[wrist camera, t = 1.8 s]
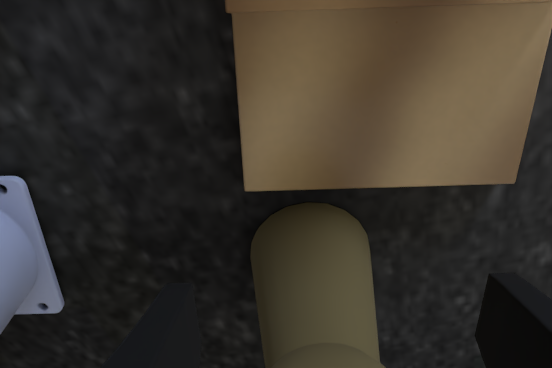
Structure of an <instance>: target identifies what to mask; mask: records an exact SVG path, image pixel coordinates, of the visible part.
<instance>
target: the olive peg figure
mask: <svg viewBox="0 0 552 368" xmlns="http://www.w3.org/2000/svg"><path fill="white" fill-rule="evenodd" d="M250 259H251V266H252V273H253V281H254V288H255V295H256V302H257V310H258V317H259V324H260V331H261V339H262V346H263V353H264V361H265V368H386V367H385V366H384V365H382V364H381V363H380V359H379V347H378V336H377V324H376V313H375V302H374V290H373V279H372V267H371V256H370V247H369V242H368V236H367V233H366V232H365V230H364V229H363V227H362V226H361V224H360V222H359V221H358V220H357V219H356V218H354V217H353V216H352V215H350V214H349V213H348V212H346V211H345V210H343V209H340V208H337V207H335V206H332V205H329V204H325V203H309V202H306V203H301V204H297V205H292V206H287V207H285V208H284V209H282V210H280V211H278V212H276V213H274V214H272V215H270V216H269V217H268V219H267V220H266V221H265V222H264V223H263V224H262V225H261V226H260V227H259V228H258V229H257V232H256V234H255V236H254V238H253V240H252V242H251V256H250Z"/></svg>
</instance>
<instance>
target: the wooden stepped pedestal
mask: <svg viewBox="0 0 552 368" xmlns="http://www.w3.org/2000/svg"><path fill="white" fill-rule="evenodd" d="M225 10H226V13H231V15H232V29H233V42H234V56H235V70H236V84H237V98H238V111H239V125H240V139H241V153H242V166H243V180H244V190H245V191H280V190H314V189H348V188H382V187H416V186H450V185H484V184H514V183H515V181H516V176H517V172H518V168H519V164H520V160H521V155H522V151H523V147H524V143H525V138H526V134H527V130H528V126H529V122H530V117H531V113H532V109H533V105H534V101H535V96H536V92H537V88H538V84H539V79H540V75H541V71H542V67H543V63H544V58H545V54H546V50H547V46H548V42H549V37H550V33H551V29H552V0H225Z"/></svg>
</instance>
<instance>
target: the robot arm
mask: <svg viewBox="0 0 552 368" xmlns="http://www.w3.org/2000/svg"><path fill="white" fill-rule="evenodd" d="M0 184H1V185H4V186H5V187H6V188H7V190H4V189H2V188H1V186H0V334H1V333H2V331H3V330H4V328H5V327H6V326H7V324H8V323H9V321H10V320H11V318H12V317H13V315H14V314H45V313H59V312H60V311H61V310H62V308H63V306H64V299H63V296H62V293H61V290H60V287H59V284H58V281H57V278H56V274H55V271H54V268H53V265H52V262H51V259H50V256H49V253H48V250H47V246H46V243H45V240H44V237H43V234H42V231H41V228H40V225H39V222H38V218H37V215H36V212H35V209H34V206H33V203H32V200H31V197H30V194H29V190H28V187H27V185H26V183H25V181H24V180H23V179H22V178H20V177H17V176H0ZM42 303H44V304H46V305H44V304H42ZM475 337H476V340H477V343H478V346H479V349H480V352H481V355H482V358H483V361H484V363H485V366H486V368H552V300H551V299H550V298H549V297H547V296H546V295H545V294H543V293H542V292H541V291H539V290H538V289H537V288H535V287H534V286H533V285H531V284H530V283H528V282H527V281H526V280H524V279H523V278H521V277H520V276H518V275H517V274H515V273H491V274H489V276H488V280H487V284H486V289H485V293H484V298H483V302H482V306H481V311H480V315H479V320H478V324H477V328H476V333H475ZM201 344H202V343H201V336H200V330H199V323H198V317H197V310H196V304H195V297H194V290H193V284H192V283H167V284H166V285H165V286H164V287H163V289H162V290H161V291H160V293H159V294H158V296H157V297H156V298H155V300H154V301H153V303H152V304H151V305H150V307H149V308H148V309H147V311H146V312H145V313H144V315H143V316H142V317H141V319H140V320H139V321H138V323H137V324H136V325H135V327H134V328H133V329H132V330H131V332H130V333H129V334H128V335H127V337H126V338H125V339H124V340H123V342H122V343H121V344H120V345H119V347H118V348H117V349H116V350H115V351H114V353H113V354H112V355H111V356H110V357H109V358H108V360H107V361H106V362H105V363H104V364H103V365H102V366H101V367H100V368H199V363H200V354H201Z"/></svg>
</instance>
